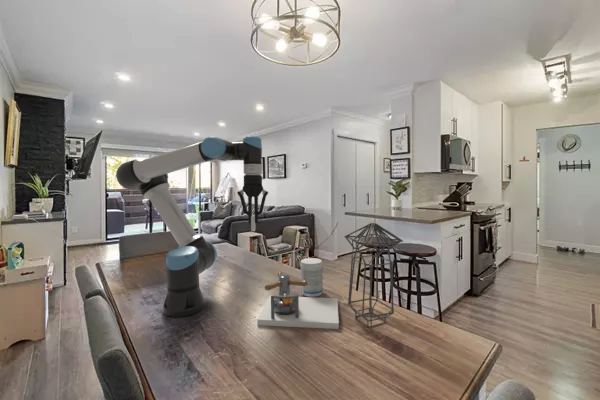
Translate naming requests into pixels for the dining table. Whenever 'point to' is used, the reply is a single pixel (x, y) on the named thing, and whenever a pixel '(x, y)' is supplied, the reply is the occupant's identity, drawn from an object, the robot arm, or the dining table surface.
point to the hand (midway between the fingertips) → (253, 230)
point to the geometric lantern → (375, 229)
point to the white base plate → (302, 313)
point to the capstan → (284, 304)
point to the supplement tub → (312, 277)
